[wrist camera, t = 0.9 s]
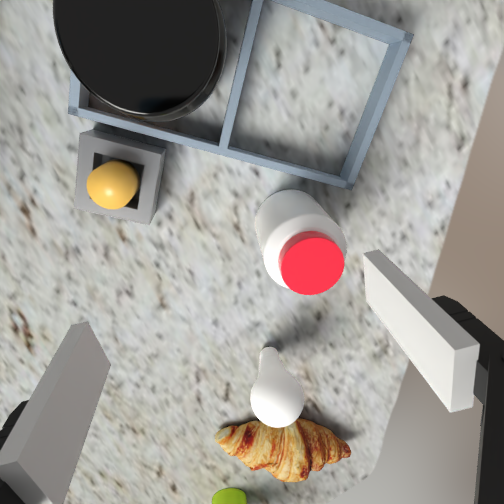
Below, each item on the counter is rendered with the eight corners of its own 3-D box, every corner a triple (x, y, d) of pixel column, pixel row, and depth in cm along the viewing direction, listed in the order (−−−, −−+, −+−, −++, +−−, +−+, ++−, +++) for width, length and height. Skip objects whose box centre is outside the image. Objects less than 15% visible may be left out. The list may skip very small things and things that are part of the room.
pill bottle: (240, 216, 38) (249, 260, 28) (299, 174, 37) (329, 205, 27) (279, 265, 41) (298, 320, 31) (334, 228, 40) (373, 274, 30)
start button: (96, 193, 33) (84, 203, 30) (101, 154, 32) (88, 161, 29) (137, 202, 34) (129, 213, 31) (143, 165, 33) (135, 172, 29)
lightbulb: (278, 372, 48) (293, 445, 38) (238, 360, 47) (243, 433, 37) (298, 339, 46) (320, 407, 36) (257, 326, 45) (268, 393, 35)
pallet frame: (78, 112, 32) (68, 113, 30) (92, -77, 27) (81, -93, 25) (343, 184, 38) (351, 190, 35) (400, 38, 32) (413, 34, 30)
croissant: (212, 421, 56) (207, 479, 51) (221, 405, 48) (216, 472, 44) (335, 431, 59) (341, 487, 54) (361, 418, 52) (371, 482, 47)
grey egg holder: (86, 198, 36) (74, 208, 33) (92, 129, 33) (79, 133, 30) (155, 213, 37) (149, 225, 34) (166, 148, 34) (161, 154, 31)
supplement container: (80, 52, 30) (4, 31, 20) (154, -54, 28) (114, -148, 17) (174, 138, 34) (154, 160, 23) (248, 51, 32) (264, 30, 21)
